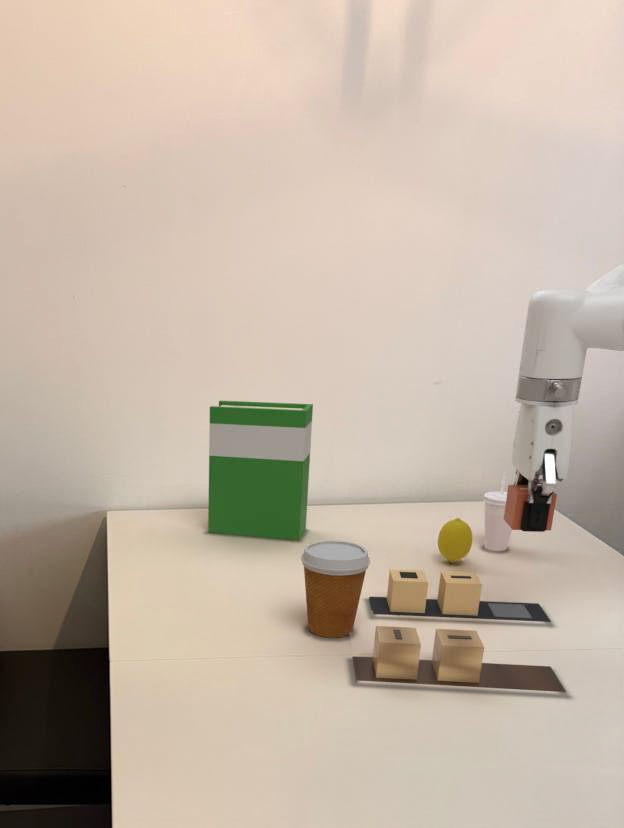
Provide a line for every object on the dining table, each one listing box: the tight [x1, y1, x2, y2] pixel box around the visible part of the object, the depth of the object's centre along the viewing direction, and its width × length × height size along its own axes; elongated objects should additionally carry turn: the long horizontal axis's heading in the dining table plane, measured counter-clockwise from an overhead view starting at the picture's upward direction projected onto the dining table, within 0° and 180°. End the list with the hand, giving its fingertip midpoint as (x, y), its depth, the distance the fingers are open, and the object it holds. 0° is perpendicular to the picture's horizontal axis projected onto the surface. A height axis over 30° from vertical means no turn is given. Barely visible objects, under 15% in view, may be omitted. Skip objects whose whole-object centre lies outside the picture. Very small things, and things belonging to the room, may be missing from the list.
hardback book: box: [207, 400, 314, 541], centre depth 164 cm, size 18×7×24 cm, turn 71°
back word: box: [368, 568, 552, 623], centre depth 129 cm, size 25×7×6 cm, turn 81°
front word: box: [352, 625, 567, 693], centre depth 110 cm, size 25×7×6 cm, turn 81°
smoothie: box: [482, 470, 513, 552], centre depth 154 cm, size 6×6×14 cm
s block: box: [504, 484, 558, 531], centre depth 119 cm, size 5×5×5 cm
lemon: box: [437, 517, 473, 564], centre depth 148 cm, size 6×6×8 cm
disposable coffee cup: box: [300, 540, 371, 639], centre depth 122 cm, size 10×10×12 cm
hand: (527, 523), depth 120 cm, fingers closed on s block, 5 cm apart
